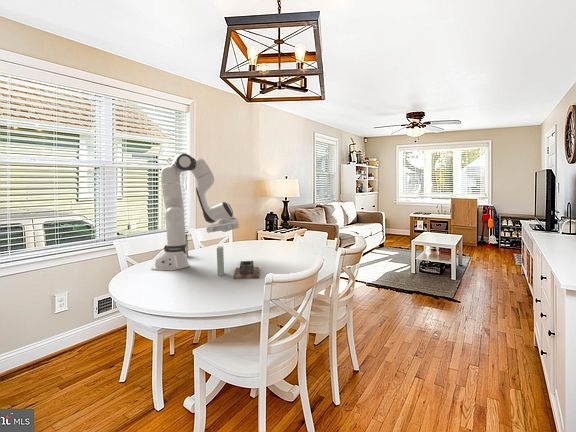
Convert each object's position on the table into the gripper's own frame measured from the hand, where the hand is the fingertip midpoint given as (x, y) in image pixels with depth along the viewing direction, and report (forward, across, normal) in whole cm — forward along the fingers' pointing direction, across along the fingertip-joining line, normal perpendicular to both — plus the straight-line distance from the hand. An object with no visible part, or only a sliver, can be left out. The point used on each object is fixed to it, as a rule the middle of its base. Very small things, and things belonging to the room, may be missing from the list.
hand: (220, 229), depth 202 cm
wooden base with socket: (+12, +14, +26) cm, 31 cm away
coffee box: (-34, -42, +22) cm, 58 cm away
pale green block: (+14, -1, +24) cm, 27 cm away
